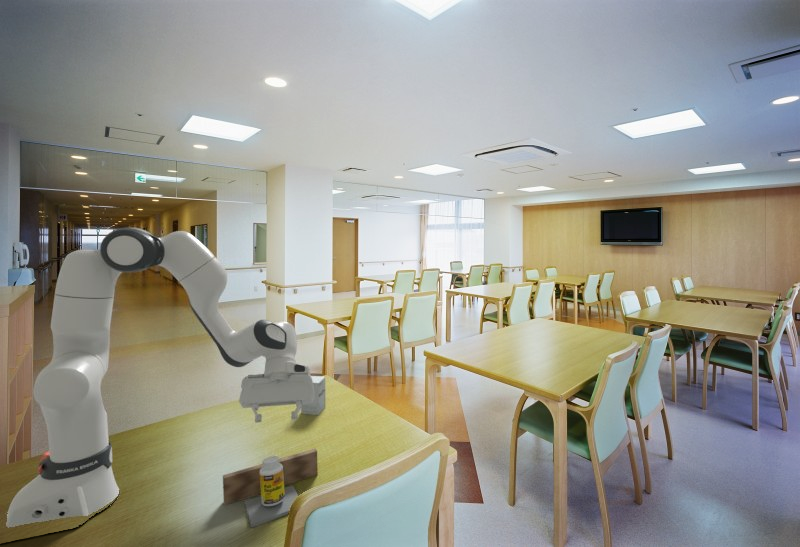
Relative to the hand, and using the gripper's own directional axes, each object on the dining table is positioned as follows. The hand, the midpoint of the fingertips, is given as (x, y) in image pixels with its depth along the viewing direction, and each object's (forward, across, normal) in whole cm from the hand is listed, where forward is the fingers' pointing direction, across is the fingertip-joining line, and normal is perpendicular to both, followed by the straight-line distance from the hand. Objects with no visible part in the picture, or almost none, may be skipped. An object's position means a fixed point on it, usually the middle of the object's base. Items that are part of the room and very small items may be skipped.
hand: (276, 420), depth 101 cm
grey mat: (+20, 0, +5) cm, 20 cm away
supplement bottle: (+19, 0, +4) cm, 19 cm away
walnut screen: (+14, -1, +10) cm, 17 cm away
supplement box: (-18, +8, +42) cm, 46 cm away
